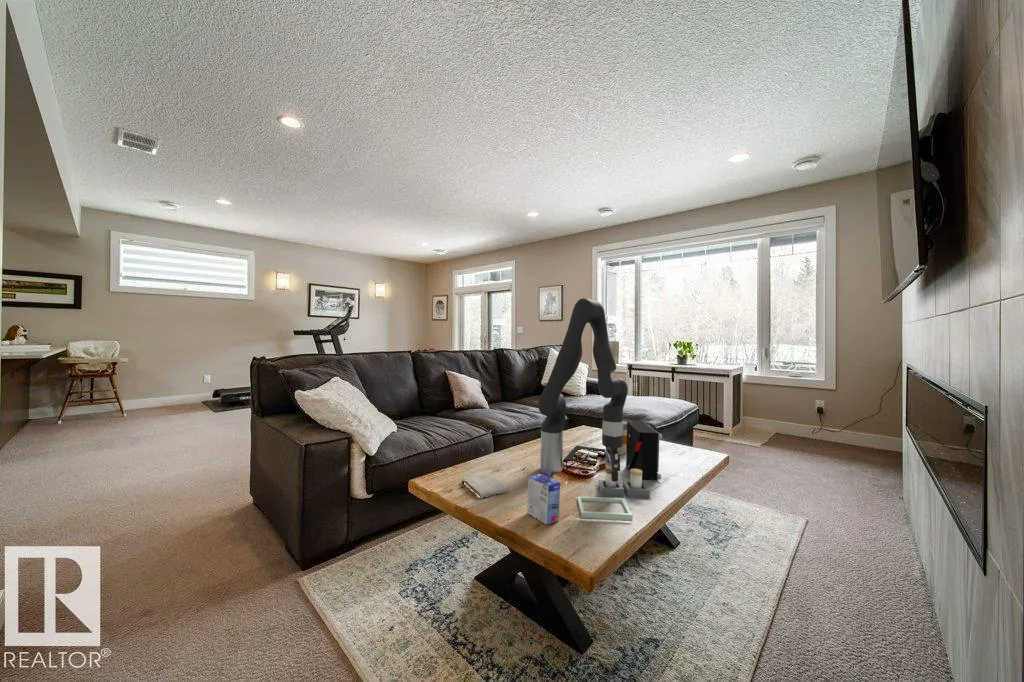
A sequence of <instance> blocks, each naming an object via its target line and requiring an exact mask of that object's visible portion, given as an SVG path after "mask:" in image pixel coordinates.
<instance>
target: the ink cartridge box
mask: <svg viewBox="0 0 1024 682" xmlns="http://www.w3.org/2000/svg"><path fill="white" fill-rule="evenodd" d="M546 473H547V475H545V474H546ZM551 475H552V474H551V472H548V471H546V470H543V472H542V473H538V474H534V475H530V476H528V485H527V490H528V491H527V507H526V509H527V510H526V513H527V514H528V515H530V516H531V515H532V517H533V518H535V519H536V518H537V519H536V520H537V521H540V522H541V523H543V524H545V525H546V524H547V525H550V524H553V523H557V522H559V521H560V496H561V494H560V493H561V491H560V490H561V482H560V481H558V480H556V479H553V478H550V477H551Z"/></svg>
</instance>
